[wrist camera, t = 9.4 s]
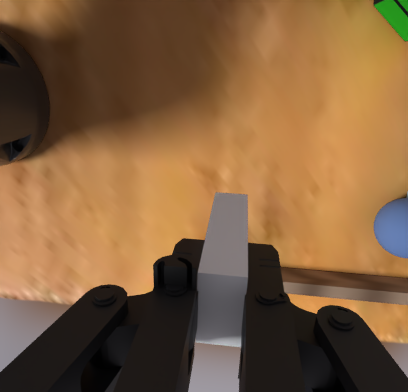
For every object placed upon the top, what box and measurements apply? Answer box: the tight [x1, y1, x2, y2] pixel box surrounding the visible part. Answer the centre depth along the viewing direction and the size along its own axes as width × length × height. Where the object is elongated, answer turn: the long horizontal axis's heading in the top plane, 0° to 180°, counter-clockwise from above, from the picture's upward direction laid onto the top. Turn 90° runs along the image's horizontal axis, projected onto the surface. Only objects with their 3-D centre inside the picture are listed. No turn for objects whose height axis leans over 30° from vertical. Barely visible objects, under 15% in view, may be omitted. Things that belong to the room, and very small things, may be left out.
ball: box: [374, 198, 408, 258], centre depth 35 cm, size 6×6×6 cm
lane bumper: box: [280, 267, 408, 305], centre depth 37 cm, size 33×19×3 cm, turn 89°
